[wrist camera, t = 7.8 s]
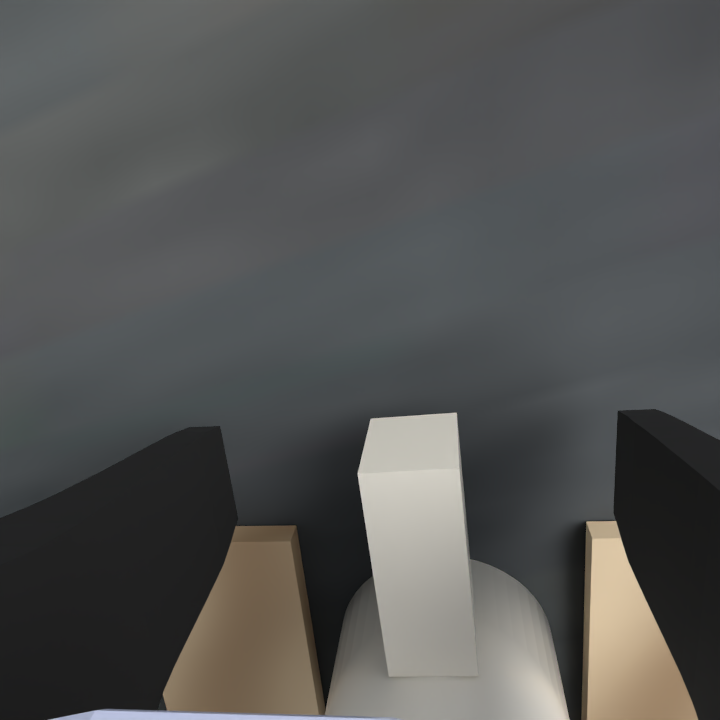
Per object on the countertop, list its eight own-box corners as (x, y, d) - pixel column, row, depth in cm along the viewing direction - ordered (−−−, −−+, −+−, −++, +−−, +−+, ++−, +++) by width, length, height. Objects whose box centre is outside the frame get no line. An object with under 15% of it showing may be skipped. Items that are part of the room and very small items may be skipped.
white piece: (556, 742, 16) (615, 1071, 11) (361, 740, 17) (320, 1046, 11) (541, 376, 13) (616, 576, 7) (298, 395, 14) (197, 588, 8)
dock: (788, 518, 13) (804, 536, 13) (736, 857, 17) (747, 882, 16) (133, 527, 15) (121, 543, 15) (211, 826, 19) (204, 847, 18)
